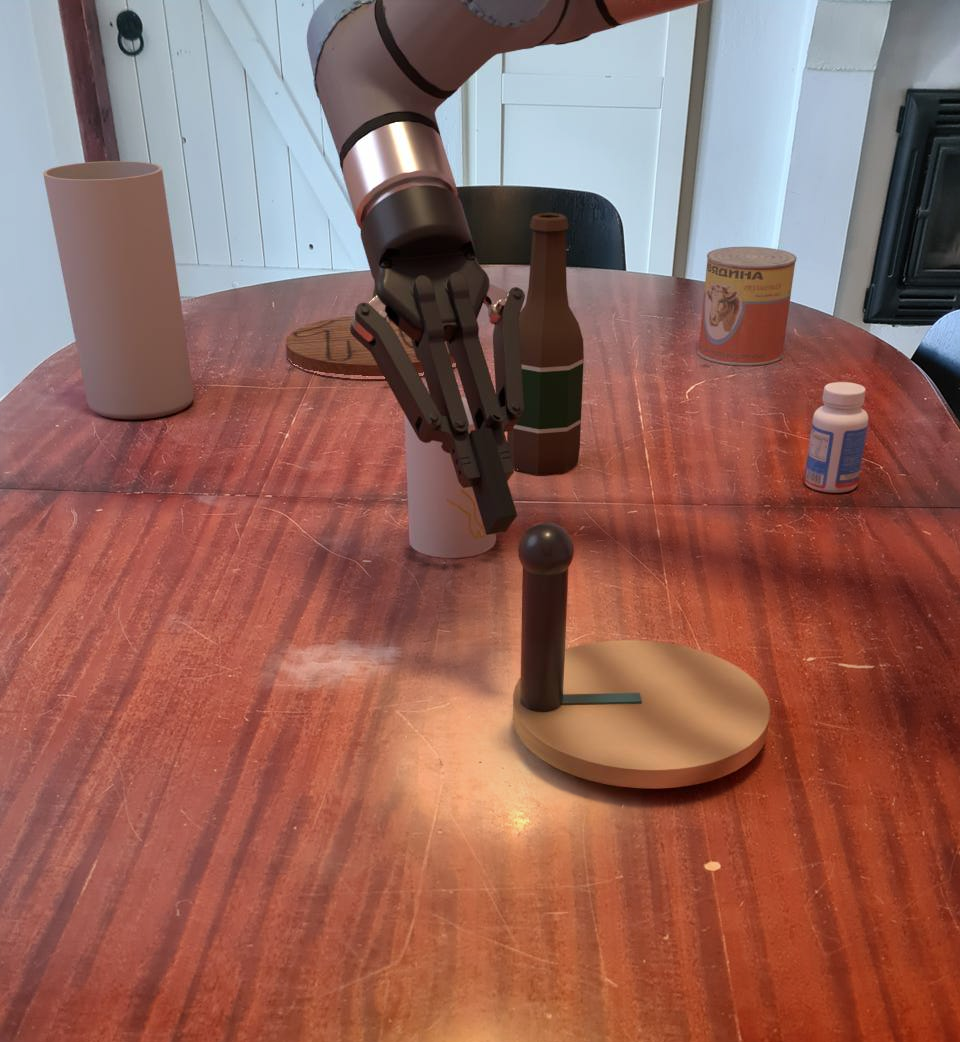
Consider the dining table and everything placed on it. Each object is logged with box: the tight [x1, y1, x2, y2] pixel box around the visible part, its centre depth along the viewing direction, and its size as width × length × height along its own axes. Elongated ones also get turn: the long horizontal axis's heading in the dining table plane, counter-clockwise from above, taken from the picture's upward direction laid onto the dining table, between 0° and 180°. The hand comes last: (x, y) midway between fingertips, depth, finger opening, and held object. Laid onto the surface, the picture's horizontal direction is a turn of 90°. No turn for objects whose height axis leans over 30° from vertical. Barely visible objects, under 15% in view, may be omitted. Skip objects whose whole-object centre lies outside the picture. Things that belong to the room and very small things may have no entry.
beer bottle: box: [506, 212, 585, 476], centre depth 125 cm, size 8×8×24 cm
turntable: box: [512, 521, 771, 790], centre depth 83 cm, size 18×18×14 cm
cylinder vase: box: [42, 160, 195, 421], centre depth 141 cm, size 12×12×25 cm
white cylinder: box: [403, 396, 497, 559], centre depth 112 cm, size 8×8×12 cm
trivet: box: [285, 315, 457, 381], centre depth 165 cm, size 25×25×2 cm
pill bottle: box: [804, 381, 869, 494], centre depth 124 cm, size 6×5×10 cm
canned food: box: [697, 246, 798, 367], centre depth 161 cm, size 11×11×12 cm
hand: (501, 525), depth 86 cm, fingers closed
